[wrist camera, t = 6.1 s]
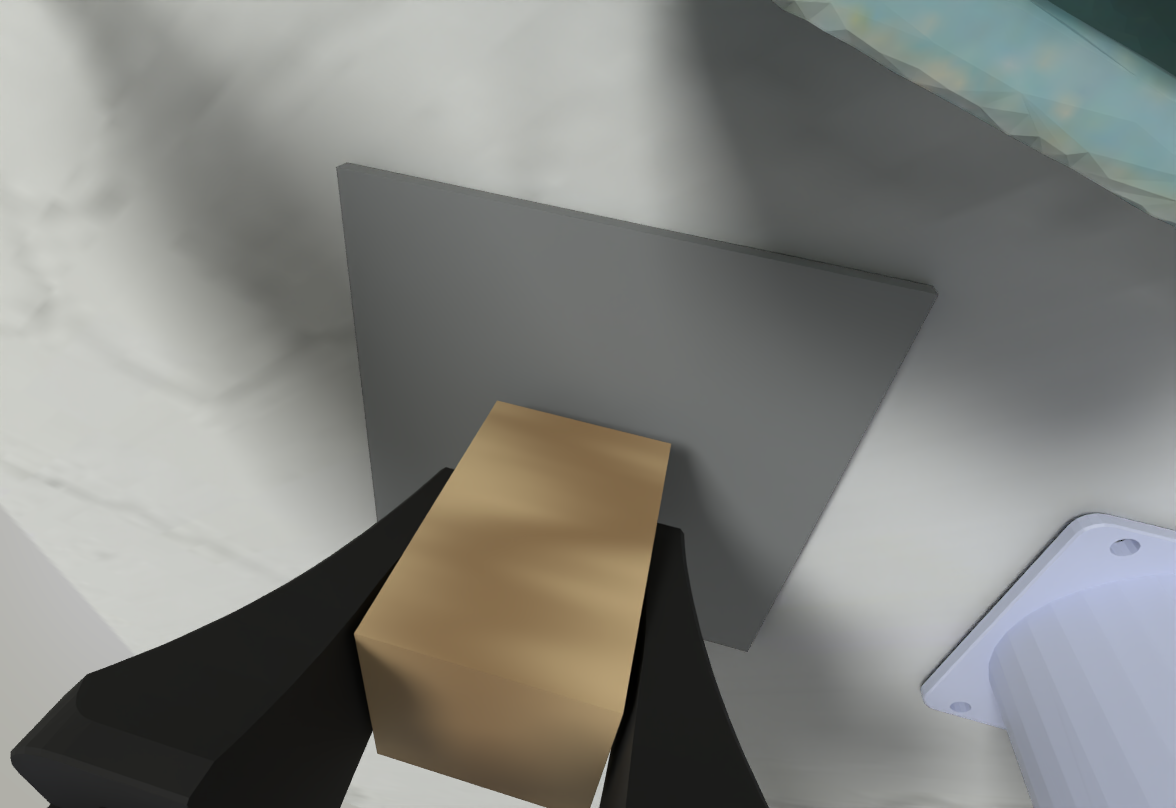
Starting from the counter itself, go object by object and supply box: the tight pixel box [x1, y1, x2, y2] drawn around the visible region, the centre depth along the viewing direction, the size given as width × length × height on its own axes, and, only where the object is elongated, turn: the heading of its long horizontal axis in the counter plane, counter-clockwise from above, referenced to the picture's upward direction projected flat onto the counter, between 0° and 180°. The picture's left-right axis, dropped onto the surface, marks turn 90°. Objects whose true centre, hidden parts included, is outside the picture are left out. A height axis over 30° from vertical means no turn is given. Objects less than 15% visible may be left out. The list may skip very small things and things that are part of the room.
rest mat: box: [336, 163, 938, 652], centre depth 15 cm, size 12×12×1 cm
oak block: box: [354, 401, 671, 808], centre depth 12 cm, size 4×4×6 cm
